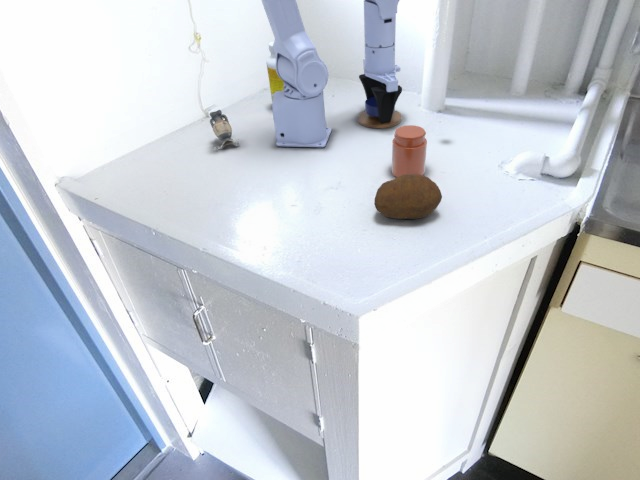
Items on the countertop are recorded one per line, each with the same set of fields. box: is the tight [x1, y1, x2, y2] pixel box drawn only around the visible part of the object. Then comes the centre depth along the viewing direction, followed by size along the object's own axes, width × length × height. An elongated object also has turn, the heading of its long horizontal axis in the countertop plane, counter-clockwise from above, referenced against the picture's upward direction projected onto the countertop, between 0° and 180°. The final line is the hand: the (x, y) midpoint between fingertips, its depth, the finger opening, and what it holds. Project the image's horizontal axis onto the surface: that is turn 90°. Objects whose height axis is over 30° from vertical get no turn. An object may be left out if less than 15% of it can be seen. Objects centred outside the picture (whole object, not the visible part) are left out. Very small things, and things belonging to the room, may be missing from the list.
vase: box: [209, 109, 241, 152], centre depth 89 cm, size 5×5×6 cm
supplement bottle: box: [265, 40, 284, 101], centre depth 99 cm, size 7×7×13 cm
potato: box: [373, 174, 443, 220], centre depth 68 cm, size 7×10×6 cm
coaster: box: [357, 110, 403, 129], centre depth 96 cm, size 9×9×1 cm
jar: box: [391, 124, 428, 178], centre depth 78 cm, size 6×6×7 cm
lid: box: [364, 97, 396, 117], centre depth 95 cm, size 6×6×2 cm
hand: (379, 116), depth 96 cm, fingers closed on lid, 6 cm apart
